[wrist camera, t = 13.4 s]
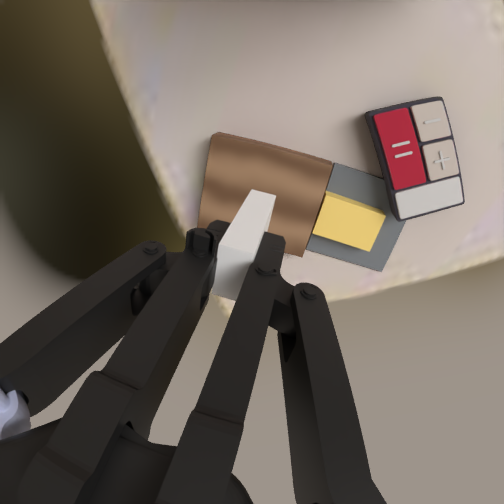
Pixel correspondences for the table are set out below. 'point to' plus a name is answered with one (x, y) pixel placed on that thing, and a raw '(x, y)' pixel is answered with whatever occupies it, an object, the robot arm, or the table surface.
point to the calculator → (417, 157)
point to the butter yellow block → (348, 221)
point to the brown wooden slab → (264, 185)
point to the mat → (370, 194)
